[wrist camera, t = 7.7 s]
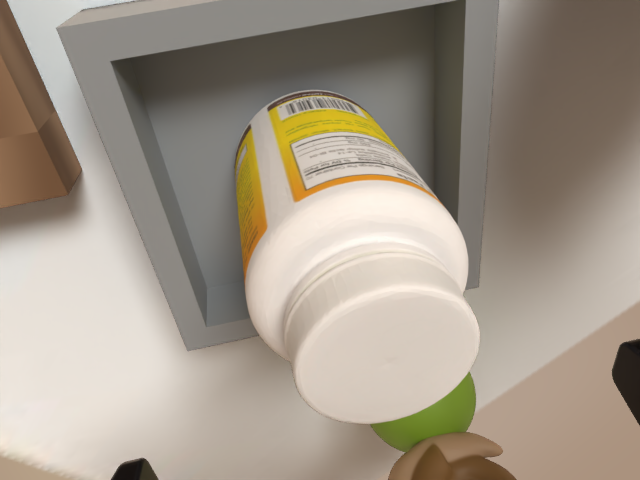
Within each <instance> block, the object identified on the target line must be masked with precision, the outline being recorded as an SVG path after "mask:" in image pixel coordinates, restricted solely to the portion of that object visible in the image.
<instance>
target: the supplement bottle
mask: <svg viewBox="0 0 640 480" xmlns="http://www.w3.org/2000/svg"><path fill="white" fill-rule="evenodd" d="M234 171H235V184H236V195H237V205H238V217H239V226H240V236H241V248H242V258H243V271H244V283H245V294H246V301H247V307H248V311H249V315H250V318H251V320H252V323H253V325H254V327H255V329H256V331H257V332H258V334H259V335H260V337H261V338H262V339H263V341H264V342H265V343H266V344H267V345H268V346H269V347H270V348H271V349H272V350H273V351H275V352H276V353H277V354H278V355H279V356H281V357H282V358H284V359H286V360H287V361H289V362H291V367H292V373H293V378H294V381H295V384H296V388H297V390H298V392H299V394H300V395H301V397H302V398H303V400H304V401H305V402H306V403H307V404H308V405H309V406H310V407H311V408H312V409H314V410H315V411H317V412H318V413H320V414H322V415H324V416H326V417H328V418H331V419H334V420H337V421H341V422H345V423H354V424H374V423H382V422H387V421H393V420H397V419H400V418H404V417H407V416H410V415H412V414H415V413H417V412H419V411H421V410H423V409H425V408H427V407H429V406H431V405H433V404H435V403H436V402H438V401H439V400H441V399H442V398H443V397H445V396H446V395H448V394H449V393H450V392H451V391H452V390H453V389H454V388H456V387H457V385H458V384H459V383H460V382H461V381H462V380H463V379H464V377H465V376H466V375H467V374H468V372H469V371H470V369H471V367H472V366H473V363H474V361H475V359H476V356H477V354H478V350H479V344H480V330H479V326H478V322H477V319H476V317H475V315H474V313H473V311H472V309H471V307H470V306H469V304H468V302H467V301H466V299H465V298H464V296H463V294H464V291H465V287H466V283H467V277H468V253H467V248H466V244H465V241H464V238H463V235H462V233H461V231H460V229H459V227H458V225H457V224H456V222H455V221H454V219H453V218H452V216H451V215H450V213H449V212H448V211H447V209H446V208H445V207H444V206H443V204H442V203H441V202H440V201H439V200H438V198H437V197H436V196H435V195H434V193H433V192H432V191H431V190H430V188H429V187H428V186H427V185H426V183H425V182H424V181H423V180H422V178H421V177H420V176H419V175H418V173H417V172H416V171H415V169H414V168H413V167H412V166H411V164H410V163H409V162H408V161H407V159H406V158H405V157H404V156H403V155H402V153H401V152H400V151H399V150H398V148H397V147H396V146H395V145H394V144H393V142H392V141H391V140H390V139H389V137H388V136H387V135H386V134H385V132H384V131H383V130H382V129H381V127H380V126H379V125H378V124H377V122H376V121H375V120H374V119H373V117H372V116H371V115H370V114H369V113H368V112H367V111H366V110H365V109H364V108H363V107H361V106H360V105H359V104H357V103H356V102H355V101H353V100H351V99H350V98H348V97H345V96H343V95H341V94H338V93H334V92H330V91H325V90H304V91H297V92H293V93H290V94H287V95H284V96H282V97H280V98H278V99H276V100H274V101H272V102H271V103H269V104H268V105H266V106H265V107H264V108H262V109H261V110H260V111H259V112H258V113H257V114H256V115H255V116H254V117H253V118H252V120H251V121H250V122H249V123H248V125H247V126H246V128H245V130H244V131H243V133H242V135H241V138H240V140H239V143H238V146H237V150H236V155H235V164H234Z"/></svg>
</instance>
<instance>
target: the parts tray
mask: <svg viewBox="0 0 640 480" xmlns="http://www.w3.org/2000/svg"><path fill="white" fill-rule="evenodd" d="M498 9H499V0H137V1H131V2H125V3H119V4H113V5H107V6H101V7H95V8H89V9H83V10H81V11H80V12H78V13H77V14H75V15H74V16H73V17H71V18H70V19H68V20H67V21H65V22H64V23H63V24H61V25H60V26H58V27H57V28H56V29H57V31H58V34H59V36H60V39H61V41H62V44H63V46H64V49H65V51H66V53H67V56H68V58H69V61H70V63H71V66H72V68H73V71H74V73H75V76H76V78H77V80H78V83H79V85H80V88H81V90H82V93H83V95H84V98H85V100H86V103H87V105H88V107H89V110H90V112H91V115H92V117H93V120H94V122H95V125H96V127H97V130H98V132H99V135H100V137H101V139H102V142H103V144H104V147H105V149H106V152H107V154H108V157H109V159H110V162H111V164H112V166H113V169H114V171H115V174H116V176H117V179H118V181H119V184H120V186H121V189H122V191H123V193H124V196H125V198H126V201H127V203H128V206H129V208H130V211H131V213H132V216H133V218H134V221H135V223H136V225H137V228H138V230H139V233H140V235H141V238H142V240H143V243H144V245H145V248H146V250H147V252H148V255H149V257H150V260H151V262H152V265H153V267H154V270H155V272H156V275H157V277H158V279H159V282H160V284H161V287H162V289H163V292H164V294H165V297H166V299H167V302H168V304H169V307H170V309H171V311H172V314H173V316H174V319H175V321H176V324H177V326H178V329H179V331H180V334H181V336H182V338H183V341H184V343H185V346H186V348H187V351H191V350H196V349H200V348H205V347H209V346H214V345H218V344H223V343H227V342H232V341H237V340H241V339H246V338H250V337H255V336H259V334H258V332H257V331H256V329H255V327H254V325H253V323H252V320H251V318H250V315H249V311H248V307H247V301H246V294H245V283H244V271H243V258H242V248H241V236H240V226H239V217H238V205H237V195H236V184H235V171H234V164H235V155H236V150H237V146H238V143H239V140H240V138H241V135H242V133H243V131H244V130H245V128H246V126H247V125H248V123H249V122H250V121H251V120H252V118H253V117H254V116H255V115H256V114H257V113H258V112H259V111H260V110H261V109H262V108H264V107H265V106H266V105H268V104H269V103H271V102H272V101H274V100H276V99H278V98H280V97H282V96H284V95H287V94H290V93H293V92H297V91H304V90H325V91H330V92H334V93H338V94H341V95H343V96H345V97H348V98H350V99H351V100H353V101H355V102H356V103H357V104H359V105H360V106H361V107H363V108H364V109H365V110H366V111H367V112H368V113H369V114H370V115H371V116H372V117H373V119H374V120H375V121H376V122H377V124H378V125H379V126H380V127H381V129H382V130H383V131H384V132H385V134H386V135H387V136H388V137H389V139H390V140H391V141H392V142H393V144H394V145H395V146H396V147H397V148H398V150H399V151H400V152H401V153H402V155H403V156H404V157H405V158H406V159H407V161H408V162H409V163H410V164H411V166H412V167H413V168H414V169H415V171H416V172H417V173H418V175H419V176H420V177H421V178H422V180H423V181H424V182H425V183H426V185H427V186H428V187H429V188H430V190H431V191H432V192H433V193H434V195H435V196H436V197H437V198H438V200H439V201H440V202H441V203H442V204H443V206H444V207H445V208H446V209H447V211H448V212H449V213H450V215H451V216H452V218H453V219H454V221H455V222H456V224H457V225H458V227H459V229H460V231H461V233H462V235H463V238H464V241H465V244H466V248H467V253H468V277H467V283H466V287H465V290H468V289H472V288H477V287H479V274H480V260H481V246H482V232H483V218H484V204H485V190H486V176H487V162H488V148H489V134H490V120H491V107H492V93H493V79H494V65H495V51H496V37H497V23H498Z"/></svg>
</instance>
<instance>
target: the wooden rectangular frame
mask: <svg viewBox="0 0 640 480" xmlns="http://www.w3.org/2000/svg"><path fill="white" fill-rule="evenodd" d="M81 170H82V168H81V166H80V164H79V161H78V159H77V157H76V155H75V153H74V150H73V148H72V146H71V144H70V141H69V139H68V137H67V135H66V132H65V130H64V128H63V126H62V124H61V121H60V119H59V117H58V115H57V112H56V110H55V108H54V106H53V103H52V101H51V99H50V97H49V94H48V92H47V90H46V88H45V86H44V83H43V81H42V79H41V77H40V74H39V72H38V70H37V68H36V65H35V63H34V61H33V59H32V56H31V54H30V52H29V50H28V48H27V45H26V43H25V41H24V39H23V36H22V34H21V32H20V30H19V27H18V25H17V23H16V21H15V19H14V16H13V14H12V12H11V10H10V7H9V5H8V3H7V1H6V0H0V208H4V207H9V206H14V205H19V204H25V203H30V202H35V201H40V200H45V199H50V198H56V197H61V196H66V195H68V194H69V193H70V191H71V189H72V187H73V185H74V183H75V181H76V179H77V177H78V176H79V174H80V172H81Z"/></svg>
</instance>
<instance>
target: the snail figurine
mask: <svg viewBox="0 0 640 480" xmlns="http://www.w3.org/2000/svg"><path fill="white" fill-rule="evenodd" d="M475 405H476V393H475V387H474V382H473V379H472V377H471V374H470V372H468V374H467V375H466V376H465V377H464V379H463V380H462V381H461V382H460V383H459V384H458V385H457V387H456V388H454V389H453V390H452V391H451V392H450V393H449V394H448V395H446V396H445V397H443V398H442V399H441V400H439V401H438V402H436V403H435V404H433V405H431V406H429V407H427V408H425V409H423V410H421V411H419V412H417V413H415V414H412V415H410V416H407V417H404V418H400V419H397V420H393V421H387V422H382V423H374V424H370V425H371V427H372V428H373V430H374V431H375V432H376V433H377V435H378V436H379V437H380V438H381V439H382V440H384V441H385V442H386V443H388V444H389V445H390V446H392V447H394V448H396V449H398V450H400V451H403V452H406V453H405V454H404V455H403V456H401V457H400V458H399V459H398V461H397V462H396V463H395V464H394V466H393V468H392V470H391V472H390V474H389V478H388V480H516V478H515V477H514V476H513V475H512V474H511V473H509V472H508V471H507V470H506V469H505V468H503V467H502V466H500V465H498V464H496V463H494V462H492V461H490V460H488V459H485V458H486V457H495V456H499V455H501V454H502V452H503V450H502V448H501V447H500V446H499V445H497V444H496V443H494V442H493V441H491V440H489V439H487V438H485V437H482V436H480V435H477V434H473V433H469V432H466V431H467V429H468V427H469V426H470V423H471V421H472V419H473V416H474V412H475Z"/></svg>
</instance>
